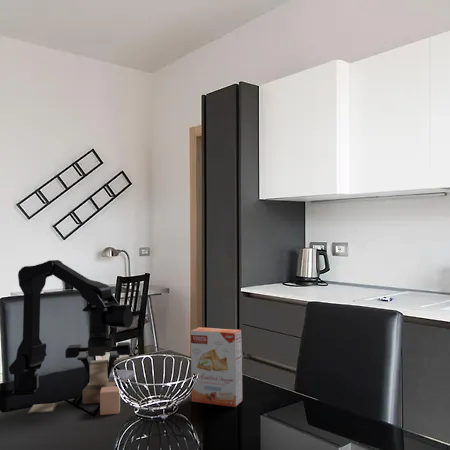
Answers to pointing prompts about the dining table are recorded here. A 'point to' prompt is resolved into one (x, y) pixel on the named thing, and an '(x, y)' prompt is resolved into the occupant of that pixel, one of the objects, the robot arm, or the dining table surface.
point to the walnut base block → (94, 392)
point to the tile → (42, 408)
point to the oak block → (99, 372)
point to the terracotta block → (109, 400)
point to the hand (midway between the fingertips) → (99, 378)
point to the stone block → (122, 375)
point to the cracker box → (216, 366)
